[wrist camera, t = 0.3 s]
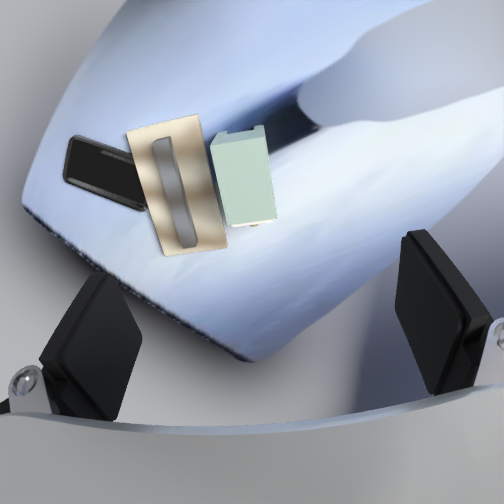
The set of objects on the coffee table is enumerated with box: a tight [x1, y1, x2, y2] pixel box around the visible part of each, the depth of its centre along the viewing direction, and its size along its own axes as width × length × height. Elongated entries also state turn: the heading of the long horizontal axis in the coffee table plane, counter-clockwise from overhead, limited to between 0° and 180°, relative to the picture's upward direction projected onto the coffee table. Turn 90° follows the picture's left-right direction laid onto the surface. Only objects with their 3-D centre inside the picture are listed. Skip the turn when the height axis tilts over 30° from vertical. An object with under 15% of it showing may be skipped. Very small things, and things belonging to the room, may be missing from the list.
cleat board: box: [126, 114, 228, 256], centre depth 44 cm, size 20×10×3 cm, turn 9°
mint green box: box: [210, 125, 277, 227], centre depth 40 cm, size 11×6×8 cm, turn 9°
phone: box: [63, 135, 148, 212], centre depth 43 cm, size 8×1×15 cm
